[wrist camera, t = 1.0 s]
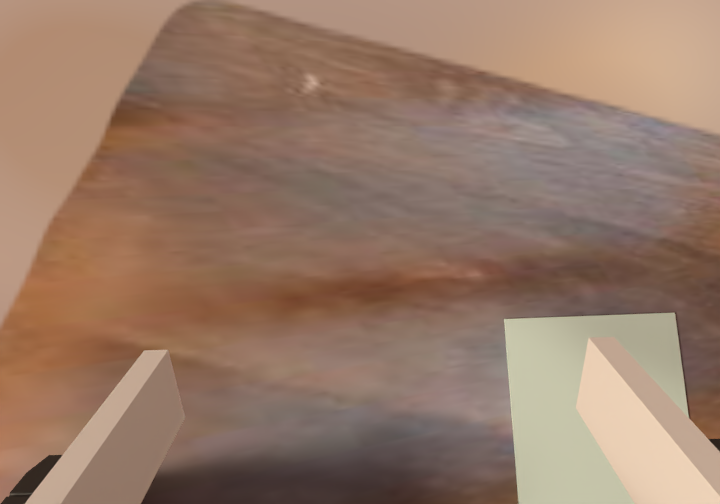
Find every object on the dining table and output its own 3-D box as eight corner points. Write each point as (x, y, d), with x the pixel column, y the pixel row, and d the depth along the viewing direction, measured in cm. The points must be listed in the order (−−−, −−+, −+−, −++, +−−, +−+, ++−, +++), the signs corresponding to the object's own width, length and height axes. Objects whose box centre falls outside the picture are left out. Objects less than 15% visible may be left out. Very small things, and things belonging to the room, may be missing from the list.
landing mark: (697, 498, 34) (699, 499, 33) (519, 511, 32) (520, 512, 32) (673, 312, 36) (674, 312, 35) (503, 318, 34) (504, 318, 34)
